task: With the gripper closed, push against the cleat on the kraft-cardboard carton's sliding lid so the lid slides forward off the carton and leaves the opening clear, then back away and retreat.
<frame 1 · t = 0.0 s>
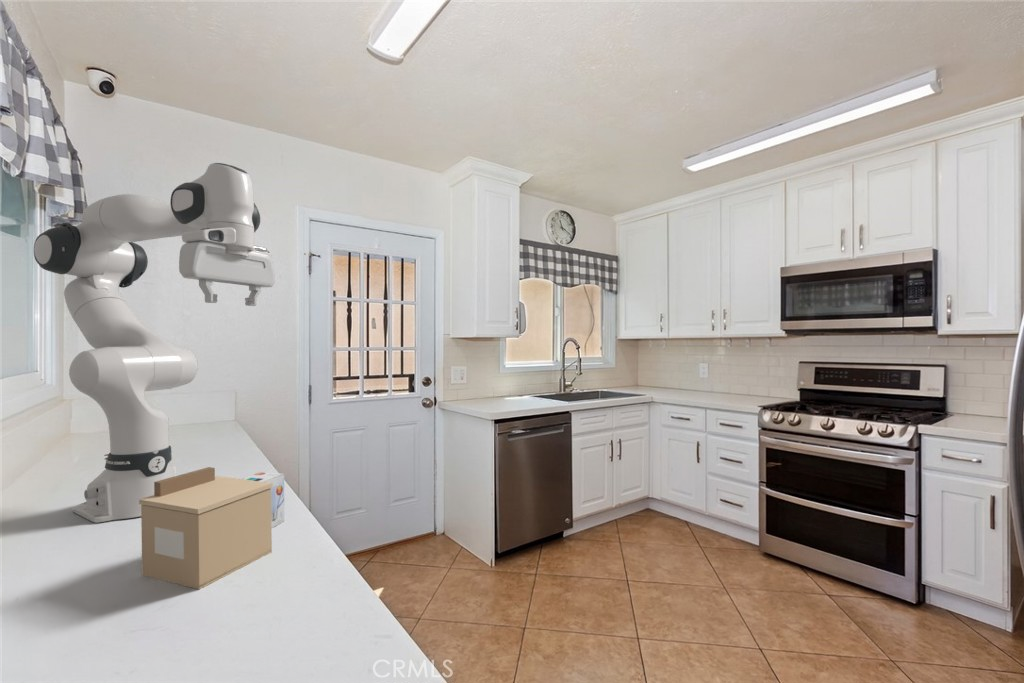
hand: (231, 304, 101), 48 cm above the counter, fingers open, 8 cm apart
light bulb box: (255, 530, 99), on the counter
carton lid: (209, 486, 84), point 14 cm above the counter, slide at 0.0 cm
carton: (210, 562, 84), on the counter
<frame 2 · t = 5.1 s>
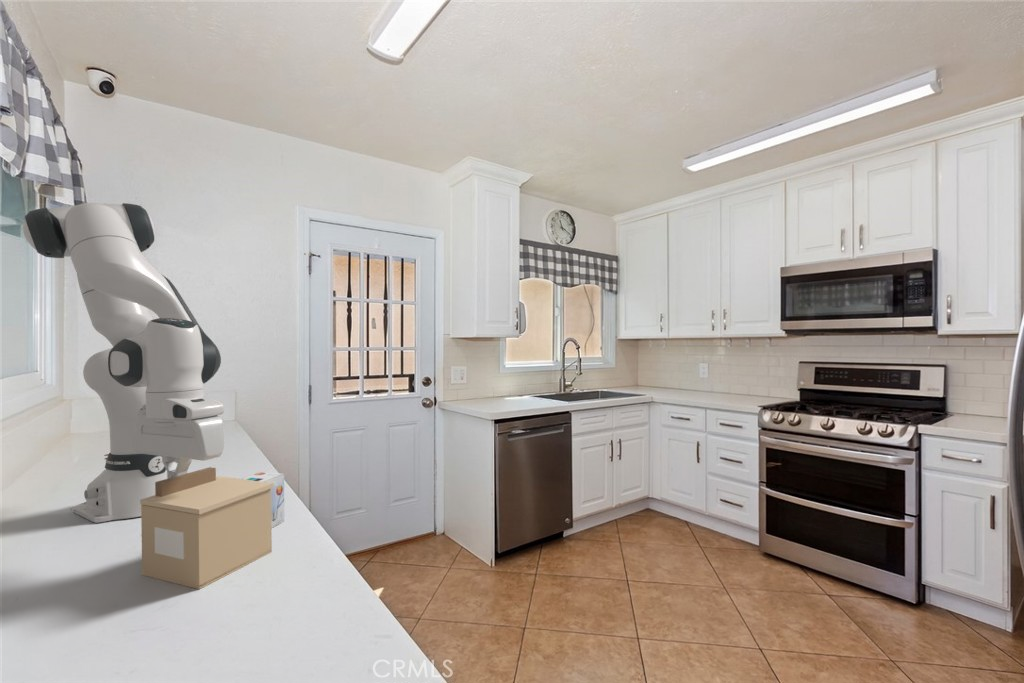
hand: (177, 479, 87), 14 cm above the counter, fingers closed
carton lid: (210, 486, 84), point 14 cm above the counter, slide at 0.3 cm, touching gripper
everything else where it was.
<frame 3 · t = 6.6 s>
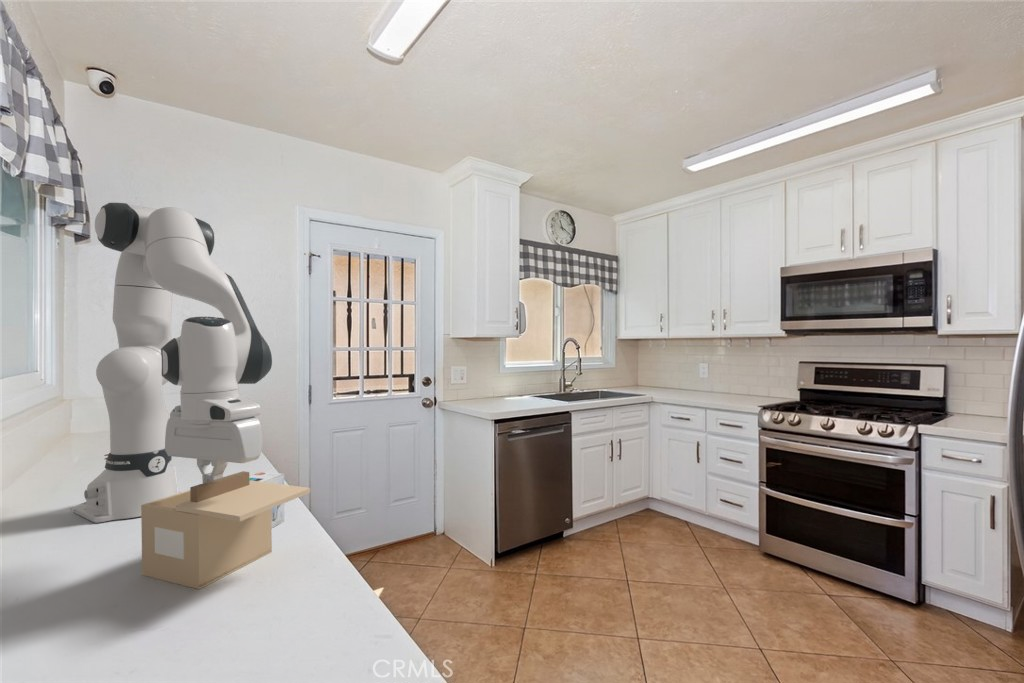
hand: (212, 483, 84), 14 cm above the counter, fingers closed
carton lid: (246, 491, 81), point 14 cm above the counter, slide at 9.1 cm, touching gripper
everything else where it was.
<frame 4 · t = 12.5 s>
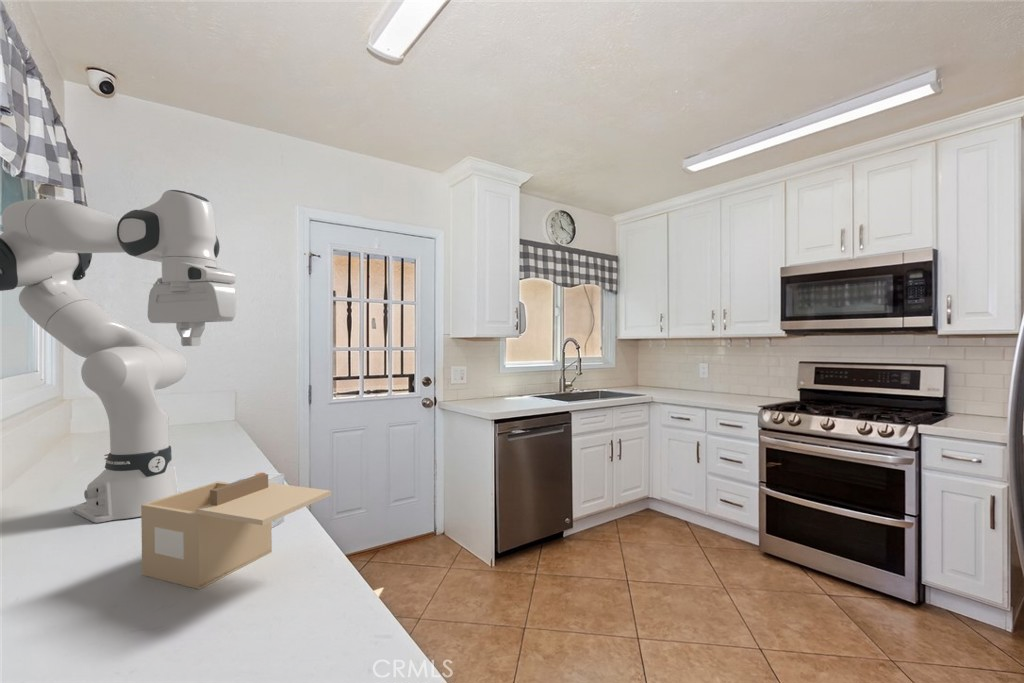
hand: (190, 346, 91), 39 cm above the counter, fingers closed
carton lid: (266, 494, 79), point 14 cm above the counter, slide at 13.8 cm
everything else where it was.
at the end: carton lid slide at 13.8 cm; the gripper is holding nothing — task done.
